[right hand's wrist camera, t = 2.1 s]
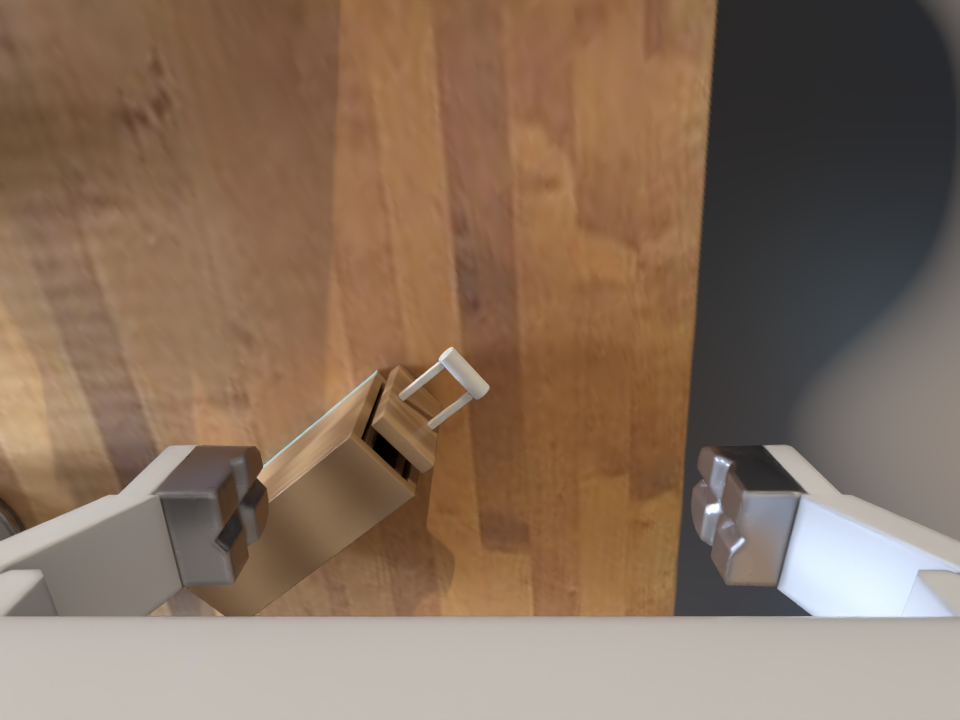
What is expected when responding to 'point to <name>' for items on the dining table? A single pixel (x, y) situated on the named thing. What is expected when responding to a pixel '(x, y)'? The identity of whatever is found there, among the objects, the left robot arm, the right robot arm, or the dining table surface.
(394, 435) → the drawer
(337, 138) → the dining table surface
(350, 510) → the wooden box sleeve
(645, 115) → the dining table surface
